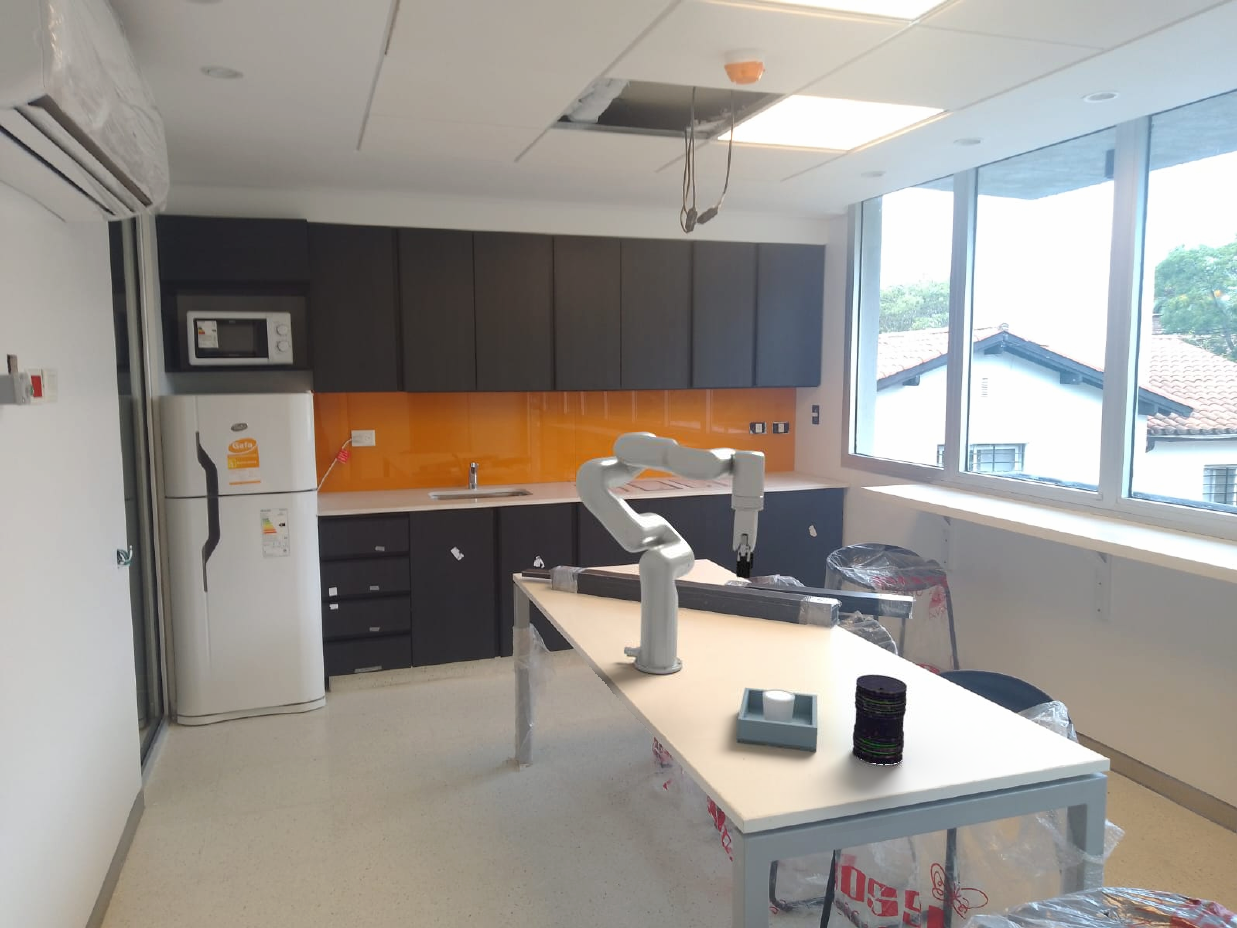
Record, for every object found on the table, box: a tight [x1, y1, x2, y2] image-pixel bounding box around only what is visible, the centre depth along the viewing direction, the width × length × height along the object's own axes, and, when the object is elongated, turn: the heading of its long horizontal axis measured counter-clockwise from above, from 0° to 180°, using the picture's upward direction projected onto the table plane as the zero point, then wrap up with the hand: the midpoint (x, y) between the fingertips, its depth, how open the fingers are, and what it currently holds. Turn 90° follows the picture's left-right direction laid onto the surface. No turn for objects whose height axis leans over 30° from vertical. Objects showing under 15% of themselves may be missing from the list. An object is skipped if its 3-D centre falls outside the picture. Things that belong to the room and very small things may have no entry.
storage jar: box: [852, 674, 908, 765], centre depth 167 cm, size 10×10×15 cm
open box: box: [736, 687, 818, 752], centre depth 179 cm, size 16×18×5 cm
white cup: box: [763, 688, 795, 723], centre depth 178 cm, size 7×7×7 cm
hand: (744, 572), depth 200 cm, fingers open, 9 cm apart
